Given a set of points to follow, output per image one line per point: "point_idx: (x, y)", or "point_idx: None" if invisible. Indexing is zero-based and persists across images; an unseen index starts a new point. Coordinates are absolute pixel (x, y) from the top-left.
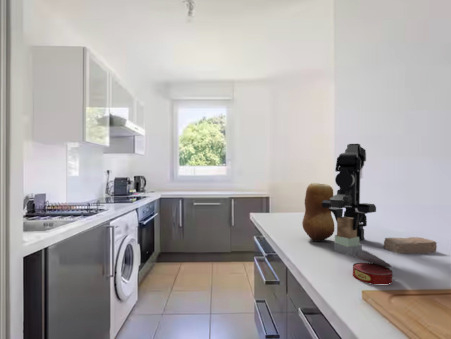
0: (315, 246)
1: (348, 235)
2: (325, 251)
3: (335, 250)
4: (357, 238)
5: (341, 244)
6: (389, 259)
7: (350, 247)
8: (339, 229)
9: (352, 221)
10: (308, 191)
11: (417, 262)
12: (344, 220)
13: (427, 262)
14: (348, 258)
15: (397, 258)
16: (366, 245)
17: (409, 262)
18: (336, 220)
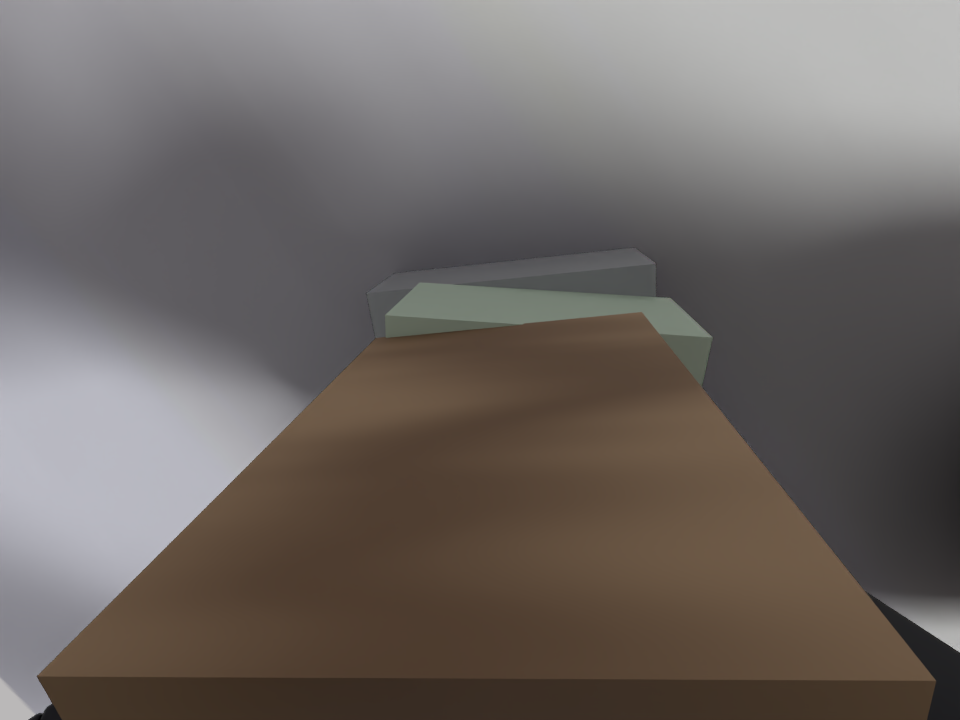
0: (942, 171)
1: (378, 353)
2: (671, 80)
3: (614, 250)
4: None
5: (537, 292)
6: (168, 474)
7: (384, 289)
8: (603, 368)
9: None
10: None
11: (62, 578)
12: (383, 585)
13: (54, 631)
14: (303, 101)
15: None
16: None
17: (70, 530)
18: (943, 653)
